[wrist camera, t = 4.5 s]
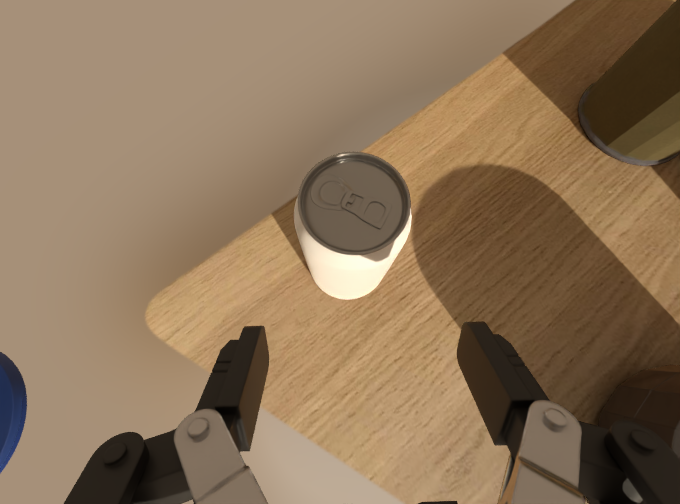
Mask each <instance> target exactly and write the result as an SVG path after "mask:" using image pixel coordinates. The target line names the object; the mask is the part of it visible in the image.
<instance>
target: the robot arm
mask: <svg viewBox="0 0 680 504" xmlns="http://www.w3.org/2000/svg"><path fill="white" fill-rule="evenodd" d="M457 359H458V364H459V366H460V369H461V371H462V373H463V375H464V378H465V380H466V382H467V384H468V387H469V389H470V391H471V393H472V395H473V398H474V400H475V402H476V404H477V407H478V409H479V411H480V413H481V416H482V418H483V420H484V422H485V424H486V427H487V429H488V431H489V433H490V436H491V438H492V440H493V442H494V445H507V446H508V448H509V451H510V456H509V459H508V463H507V467H506V471H505V475H504V479H503V483H502V487H501V491H500V495H499V499H498V503H497V504H585V497H586V498H587V499H588V501H589V503H590V504H680V458H679V457H678V456H677V455H676V453H675V452H674V451H673V450H672V449H671V448H670V446H669V445H668V444H667V443H666V442H665V441H664V440H663V439H662V438H661V437H660V436H659V435H657V434H656V433H655V432H653V431H652V430H650V429H649V428H647V427H645V426H643V425H641V424H639V423H636V422H633V421H629V420H619V421H616V422H614V423H613V424H612V426H611V428H610V429H607V428H603V427H599V426H596V425H592V424H588V423H584V422H581V421H578V420H577V419H576V418H575V417H574V415H573V414H572V413H570V412H569V411H568V410H567V409H565V408H564V407H562V406H561V405H559V404H557V403H554V402H551V401H550V400H549V399H548V397H547V396H546V394H545V393H544V391H543V390H542V388H541V387H540V385H539V384H538V383H537V381H536V380H535V378H534V377H533V375H532V374H531V372H530V371H529V369H528V368H527V366H525V364H524V362H523V361H522V359H521V358H520V357H519V356H518V353H517V352H516V350H515V349H514V347H513V346H512V345H511V343H509V342H508V341H507V340H506V339H504V338H503V337H502V336H501V335H499V334H493V333H492V331H491V330H490V328H489V327H488V325H487V324H486V323H485V322H483V321H482V322H464V323H463V325H462V330H461V334H460V339H459V343H458V348H457ZM268 367H269V352H268V346H267V340H266V334H265V328H264V326H245V327H244V328H243V330H242V333H241V336H240V338H239V340H230V341H229V342H228V343H227V344H226V345H225V346H224V347H223V348H222V349H221V351H220V353H219V356H218V358H217V360H216V364H215V365H214V368H213V370H212V373H211V375H210V377H209V380H208V382H207V384H206V387H205V389H204V391H203V394H202V396H201V399H200V401H199V403H198V406H197V408H196V410H195V412H194V413H192V414H190V415H189V416H187V417H186V418H185V419H184V420H183V421H182V422H181V423H180V424H179V426H178V427H177V428H176V429H175V430H173V431H170V432H167V433H164V434H161V435H158V436H155V437H152V438H149V439H146V440H143V438H142V436H141V435H139V434H138V433H135V432H126V433H122V434H119V435H116V436H114V437H112V438H111V439H109V440H107V441H106V442H105V443H104V444H102V445H101V446H100V447H99V448H98V449H97V450H96V451H95V453H94V454H93V455H92V457H91V458H90V460H89V462H88V463H87V465H86V467H85V468H84V470H83V472H82V473H81V475H80V477H79V479H78V480H77V482H76V484H75V485H74V487H73V489H72V491H71V492H70V494H69V496H68V497H67V499H66V501H65V502H64V504H182V503H184V502H187V501H189V500H192V499H193V502H194V504H268V502H267V500H266V498H265V497H264V495H263V493H262V491H261V489H260V487H259V485H258V483H257V481H256V479H255V477H254V475H253V473H252V471H251V469H250V468H249V466H246V464H245V463H244V461H243V459H242V457H241V455H240V451H250V446H251V443H252V438H253V434H254V430H255V425H256V421H257V416H258V412H259V408H260V403H261V399H262V394H263V390H264V385H265V381H266V377H267V372H268ZM584 496H585V497H584ZM418 504H458V503H457V501H439V502H421V503H418Z"/></svg>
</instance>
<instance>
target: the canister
mask: <svg viewBox="0 0 680 504" xmlns="http://www.w3.org/2000/svg"><path fill="white" fill-rule="evenodd" d="M578 113H579V118H580V123H581V126H582V127H583V129H584V131H585V132H586V134H587V136H588V137H589V139H590V140H591V141H592V142H593V143H594V144H595V145H596V146H597V147H598V148H600V149H601V150H602V151H603V152H605V153H606V154H607V155H609V156H611V157H613V158H616V159H618V160H621V161H623V162H626V163H629V164H633V165H640V166H647V165H657V164H661V163H665V162H667V161H669V160H671V159H673V158H675V157H676V156H677V155H678V154H679V153H680V0H677V1H676V2H675V3H674V4H673V5H672V6H671V7H670V8H669V9H668V10H667V11H666V12H665V13H664V14H663V15H662V16H661V17H660V18H659V19H658V20H657V21H656V22H655V23H654V24H653V25H652V26H651V27H650V28H649V29H648V30H647V31H646V32H645V33H644V34H643V35H642V36H641V37H640V38H639V39H638V40H637V41H636V42H635V43H634V44H633V45H632V46H631V47H630V48H629V49H628V50H627V51H626V53H625V54H624V55H623V56H622V57H621V58H620V59H619V60H618V61H617V62H616V63H615V64H614V65H613V66H612V67H611V68H610V69H609V70H608V71H607V72H606V73H605V74H604V75H603V76H602V77H601V78H600V79H599V80H598V81H597V82H595V83H594V84H592V85H591V86H590V87H589V88H588V89H586V91H585V92H584V94H583V96H582V98H581V100H580V102H579V108H578Z"/></svg>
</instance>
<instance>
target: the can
mask: <svg viewBox="0 0 680 504" xmlns="http://www.w3.org/2000/svg"><path fill="white" fill-rule="evenodd" d="M411 219H412V215H411V200H410V194H409V190H408V187H407V185H406V183H405V181H404V179H403V178H402V176H401V175H400V173H399V172H398V171H397V170H396V169H395V168H394V167H393V166H392V165H390V164H389V163H388V162H386V161H385V160H383V159H381V158H379V157H377V156H374V155H371V154H367V153H362V152H345V153H339V154H336V155H333V156H330V157H328V158H326V159H324V160H322V161H321V162H319V163H318V164H317V165H315V166H314V167H313V168H312V169H311V170H310V171H309V173H308V174H307V175H306V177H305V178H304V180H303V182H302V184H301V187H300V190H299V194H298V197H297V199H296V203H295V208H294V224H295V229H296V233H297V236H298V239H299V242H300V245H301V248H302V251H303V254H304V257H305V260H306V262H307V265H308V268H309V270H310V273H311V275H312V278H313V280H314V281H315V283H316V284H317V285H318V287H319V288H320V289H321V290H323V291H324V292H325V293H327V294H328V295H330V296H333V297H335V298H339V299H356V298H360V297H362V296H365V295H366V294H368V293H370V292H371V291H372V290H373V289H375V287H376V286H377V285H378V284H379V283H380V281H381V280H382V278H383V277H384V275H385V274H386V272H387V271H388V269H389V268H390V266H391V265H392V263H393V262H394V260H395V258H396V257H397V255H398V254H399V252H400V250H401V249H402V247H403V245H404V243H405V242H406V239H407V237H408V234H409V231H410V227H411Z"/></svg>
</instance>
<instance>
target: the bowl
mask: <svg viewBox="0 0 680 504" xmlns="http://www.w3.org/2000/svg"><path fill="white" fill-rule="evenodd" d="M619 420H629V421H633V422H636V423H639V424H641V425H643V426H645V427H647V428H649V429H650V430H652V431H653V432H655V433H656V434H657V435H659V436H660V437H661V438H662V439H663V440H664V441H665V442H666V443H667V444H668V445H669V446H670V448H671V449H672V450H673V451H674V452H675V453H676V455H677V456H678V457H679V458H680V365H666V366H661V367H656V368H650V369H645V370H642V371H640V372H638V373H637V374H635V375H634V376H632V377H631V378H629V379H628V380H626V381H625V382H623V383H622V384H620V385H619V386H618V387H617V388H616V390H615V391H614V393H613V394H612V396H611V397H610V399H609V400H608V402H607V403H606V404H605V406H604V407H603V409H602V411H601V414H600V418H599V422H598V426H599V427H603V428H607V429H610V428H611V426H612V424H613V423H614V422H616V421H619Z"/></svg>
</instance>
